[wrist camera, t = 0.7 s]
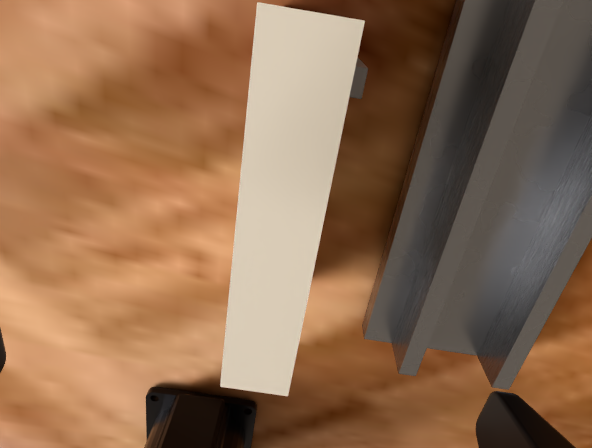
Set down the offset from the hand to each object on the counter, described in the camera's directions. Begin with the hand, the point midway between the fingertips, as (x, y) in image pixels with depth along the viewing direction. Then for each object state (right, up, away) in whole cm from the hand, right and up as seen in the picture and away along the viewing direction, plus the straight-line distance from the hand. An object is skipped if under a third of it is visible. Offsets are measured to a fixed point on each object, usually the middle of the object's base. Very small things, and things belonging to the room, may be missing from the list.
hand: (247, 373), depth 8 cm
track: (+10, +6, +10) cm, 15 cm away
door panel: (+1, +5, +11) cm, 12 cm away
